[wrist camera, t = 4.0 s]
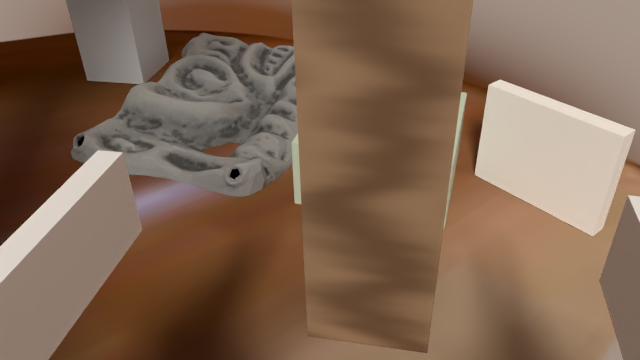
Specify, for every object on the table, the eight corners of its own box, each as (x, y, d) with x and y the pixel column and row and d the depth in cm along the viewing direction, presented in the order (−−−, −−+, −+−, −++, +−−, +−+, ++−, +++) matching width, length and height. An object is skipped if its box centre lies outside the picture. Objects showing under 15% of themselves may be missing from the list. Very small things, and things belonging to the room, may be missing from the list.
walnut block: (307, 336, 29) (290, -32, 19) (328, 257, 34) (324, -68, 24) (427, 352, 28) (476, -26, 18) (431, 269, 33) (471, -65, 23)
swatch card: (592, 236, 35) (624, 137, 31) (474, 174, 41) (488, 84, 37) (606, 225, 36) (638, 127, 32) (488, 167, 42) (503, 78, 38)
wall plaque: (199, 54, 62) (194, 19, 60) (365, 77, 57) (366, 39, 55) (42, 163, 44) (27, 118, 42) (264, 212, 39) (260, 164, 36)
